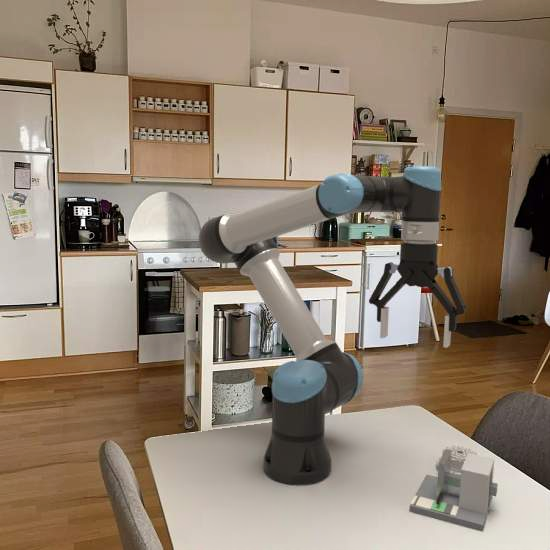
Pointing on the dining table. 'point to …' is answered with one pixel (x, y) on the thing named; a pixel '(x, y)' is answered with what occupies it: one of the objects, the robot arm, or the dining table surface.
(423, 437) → the dining table surface
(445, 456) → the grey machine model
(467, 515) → the gauge base
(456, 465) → the mechanical component
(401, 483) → the dining table surface
